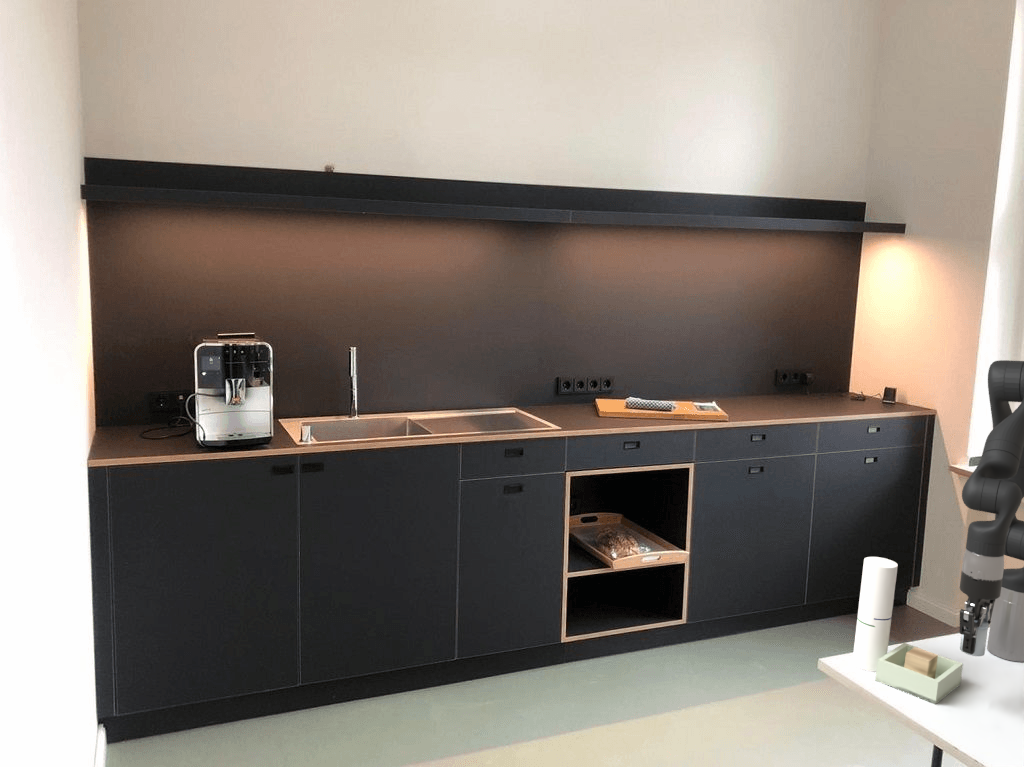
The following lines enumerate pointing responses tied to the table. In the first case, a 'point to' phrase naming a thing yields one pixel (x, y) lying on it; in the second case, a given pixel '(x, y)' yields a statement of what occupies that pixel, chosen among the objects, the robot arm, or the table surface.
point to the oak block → (921, 662)
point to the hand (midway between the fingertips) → (972, 648)
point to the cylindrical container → (874, 612)
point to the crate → (918, 675)
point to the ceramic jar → (978, 640)
